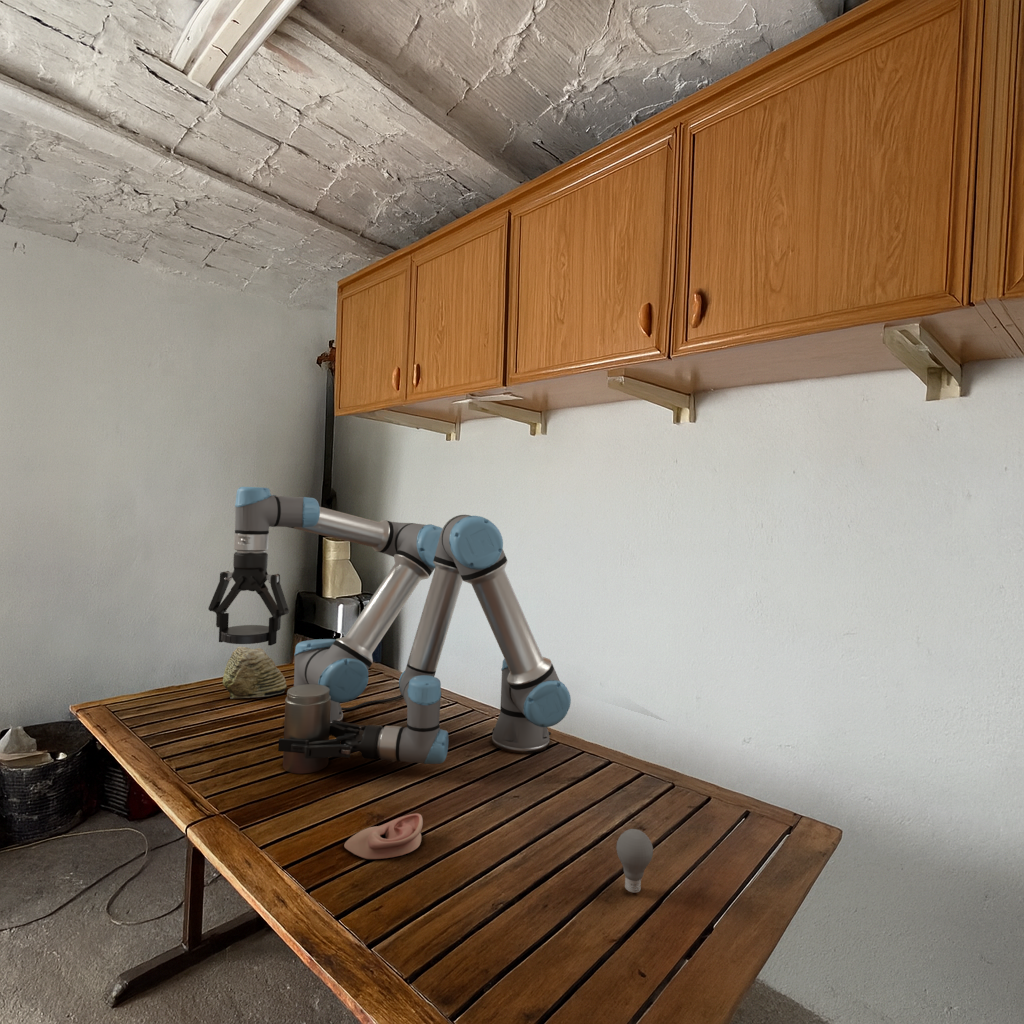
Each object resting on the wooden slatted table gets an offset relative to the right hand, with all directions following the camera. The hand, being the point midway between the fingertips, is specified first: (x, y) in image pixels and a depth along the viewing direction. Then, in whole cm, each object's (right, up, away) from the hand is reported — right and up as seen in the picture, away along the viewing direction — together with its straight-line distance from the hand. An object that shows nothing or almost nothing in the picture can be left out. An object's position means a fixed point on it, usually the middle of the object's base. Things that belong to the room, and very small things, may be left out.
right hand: (289, 735), depth 150 cm
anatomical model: (+29, -8, -33) cm, 45 cm away
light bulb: (+73, -10, -44) cm, 86 cm away
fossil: (-28, -4, +48) cm, 56 cm away
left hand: (-11, +22, +2) cm, 24 cm away
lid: (-10, +24, +1) cm, 27 cm away
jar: (+4, -7, 0) cm, 8 cm away
